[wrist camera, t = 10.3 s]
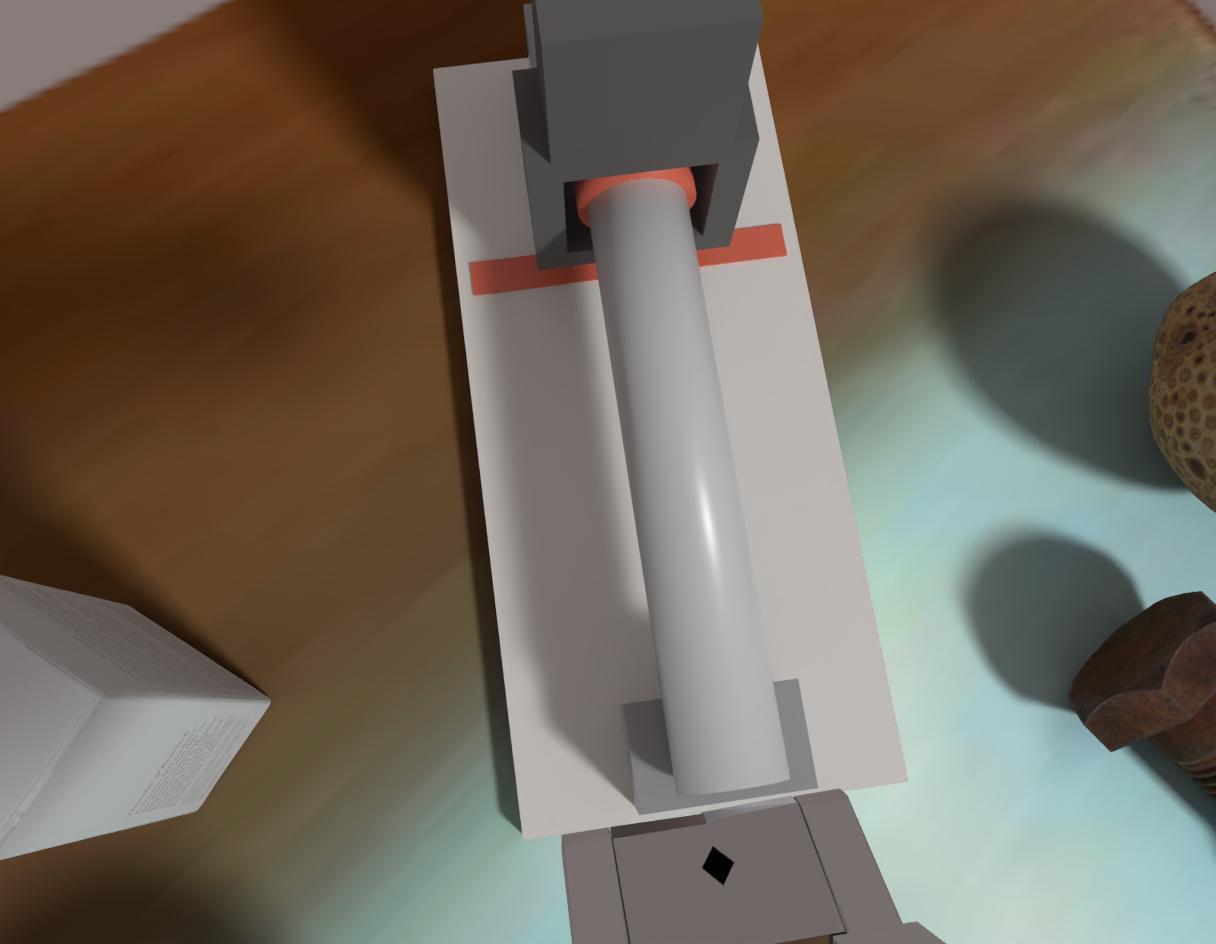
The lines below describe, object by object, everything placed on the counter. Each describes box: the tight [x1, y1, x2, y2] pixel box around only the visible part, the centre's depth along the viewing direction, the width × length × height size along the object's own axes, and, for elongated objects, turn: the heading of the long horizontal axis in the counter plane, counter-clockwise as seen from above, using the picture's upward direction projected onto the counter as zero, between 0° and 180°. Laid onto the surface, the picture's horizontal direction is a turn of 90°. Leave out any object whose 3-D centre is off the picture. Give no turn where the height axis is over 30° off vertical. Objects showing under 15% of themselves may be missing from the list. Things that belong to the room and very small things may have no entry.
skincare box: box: [0, 575, 271, 860], centre depth 27 cm, size 6×4×12 cm
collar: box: [512, 0, 764, 270], centre depth 29 cm, size 3×6×11 cm, turn 98°
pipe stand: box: [433, 3, 908, 840], centre depth 32 cm, size 27×12×8 cm, turn 8°
